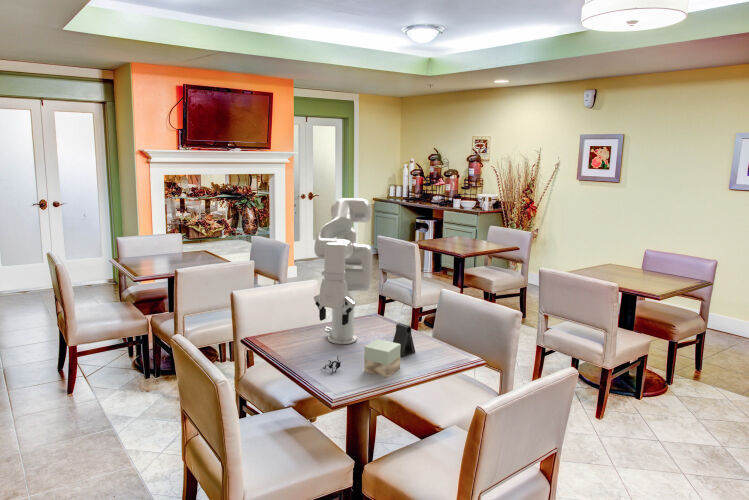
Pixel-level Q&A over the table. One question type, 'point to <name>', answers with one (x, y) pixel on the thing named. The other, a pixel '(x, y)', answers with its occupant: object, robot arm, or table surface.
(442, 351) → the table surface
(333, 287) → the robot arm
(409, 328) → the phone stand
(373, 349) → the tower top
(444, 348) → the table surface
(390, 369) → the tower base
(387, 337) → the table surface
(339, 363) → the creature
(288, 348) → the table surface
